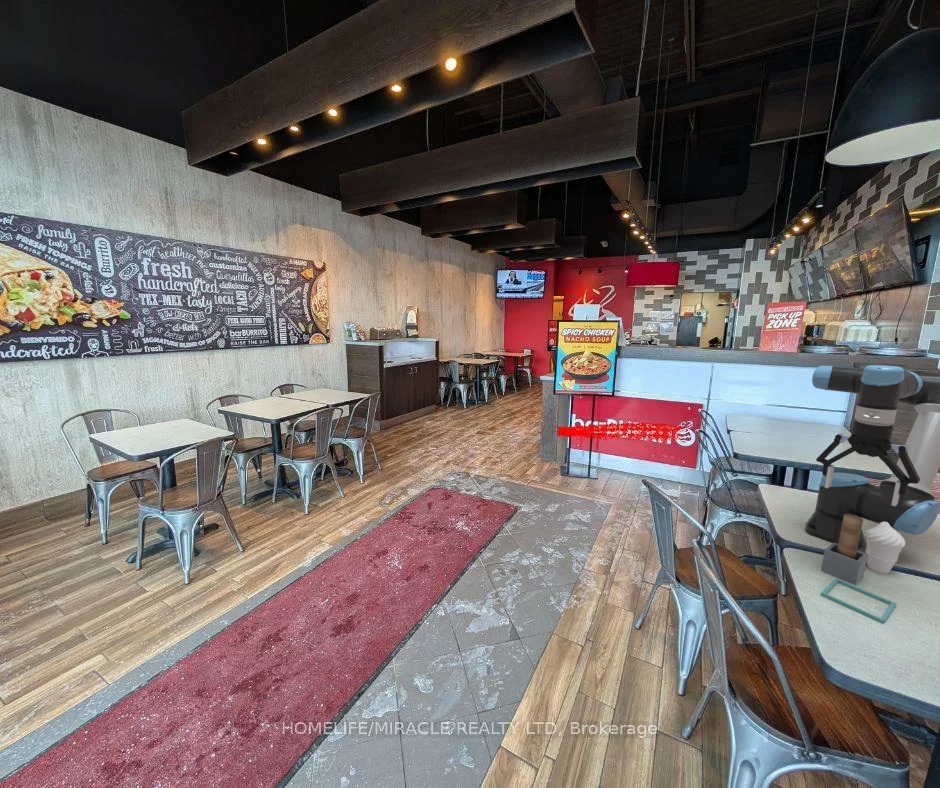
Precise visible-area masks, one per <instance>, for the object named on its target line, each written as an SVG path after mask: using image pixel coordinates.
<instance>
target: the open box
mask: <svg viewBox="0 0 940 788" xmlns="http://www.w3.org/2000/svg"><path fill="white" fill-rule="evenodd" d="M837 547H838V544H837V543H834V542H833V543H831V544H830V545H828V547H826V548H825V549H824V552H823V558H822V564H821V567H820V568H821V569H820V572H822V573H824V574H827V575H829V576H832V577H834V578H837V579H839V580H842V581H844V582H847V583H849V584H851V585H854V586H856V587H857V584H859V582H861V580H862V579H863V578H864V575H865V571H866V565H867V558H868V555H867V554H866V552H865V553H864V552H862V551H858V550H857V553H856V557H855V559H852V558H849V557H847V556H844V555H841V554H838V553H836V552H837Z"/></svg>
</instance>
